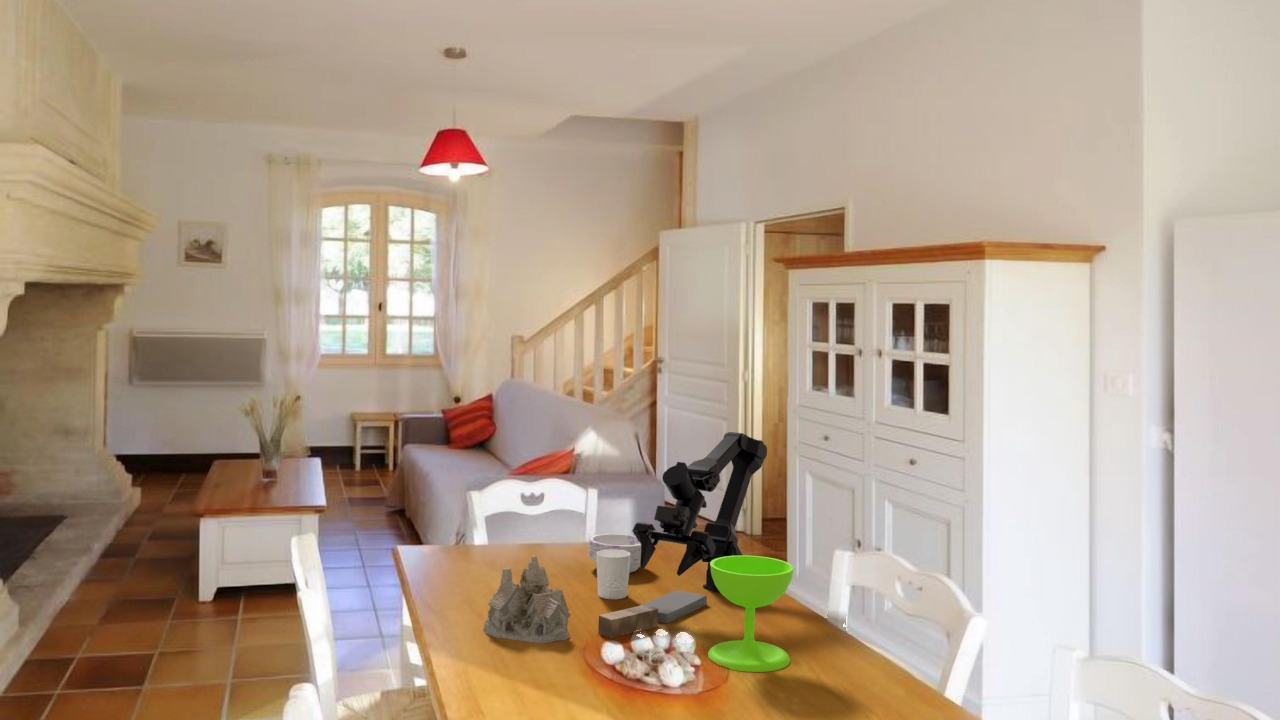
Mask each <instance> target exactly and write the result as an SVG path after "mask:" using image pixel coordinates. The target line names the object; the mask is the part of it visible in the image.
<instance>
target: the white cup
mask: <svg viewBox="0 0 1280 720" xmlns="http://www.w3.org/2000/svg"><path fill="white" fill-rule="evenodd" d="M630 555H631V554H630V552H628V551H624V550H615V549H609V550H601V551H598V552H597V565H596V577H597V578H596V581H597V582H596V583H597V596H598V597H599V598H602V599H606V600H621V599H625V598H626V597H627V596H628V588H629V587H628V585H629V577H630V573H629V569H630Z"/></svg>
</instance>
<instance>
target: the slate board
mask: <svg viewBox="0 0 1280 720" xmlns="http://www.w3.org/2000/svg"><path fill="white" fill-rule="evenodd" d="M707 599H708V596H707V595H706V594H699V593H694V592H689V591H684V590H680V589H679V590H677V589H675V590H673V591H671V592H669V593H665V594H663V595H662V596H659V597H657V598H654V599H652V600H650V601H648V602H646V603H642V604H641V605H648V606H651V607H654V608H657V609H658V623H664V624H669V623H671V622H673V621H676V620H677V619H679V618H681V617H683V616H686V615H688V614H691V612H694V611H696V610H698V609H700V608H703V607H705V606H706V605H707V603H708V602H707V601H708V600H707ZM641 605H639V606H641Z"/></svg>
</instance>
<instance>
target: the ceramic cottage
mask: <svg viewBox="0 0 1280 720" xmlns="http://www.w3.org/2000/svg"><path fill="white" fill-rule="evenodd" d="M530 559H531V560H529V561H528V564H527V567H526V568H523V570H522V572H521V573H522V574H521V577H520V580H519V583H517V582H514V581H513V572H512V568H511V567H503V569H502V573H501V574H502V575H501V579H500V583H499V584H500V585H499V587H498V589H497V590H496V592H495V593H494V594H493V596H492V597H491V599H490V600H489V601H488V602H486V603H487V605H488V606H489V607H490V608H489V609H488V611H487V614H488V615H487V618H486V619H485V621H484V625H483V630H482V631H483V632H484V633H485V634H487V635H488V636H490V637H494V638H496V639H504V640H505V639H506V640H512V641H519V642H520V641H521V642H527V643H528V642H529V643H539V644H546V643H554V642H556V641H565V640H568V639H569V638H570V637H571V636H570V632H569V630H568V622H569V618H571V615H572V614H570V612H569V611H570V609H569V607H568V604H567V601H566V598H565V594H564V592H563V589H560V588H554V590H553V588H552V587H549V586H550V582H549V578H548V575H547V571H546V567H545V566H541V567H539V561H538V556H537V555H531V558H530Z"/></svg>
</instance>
